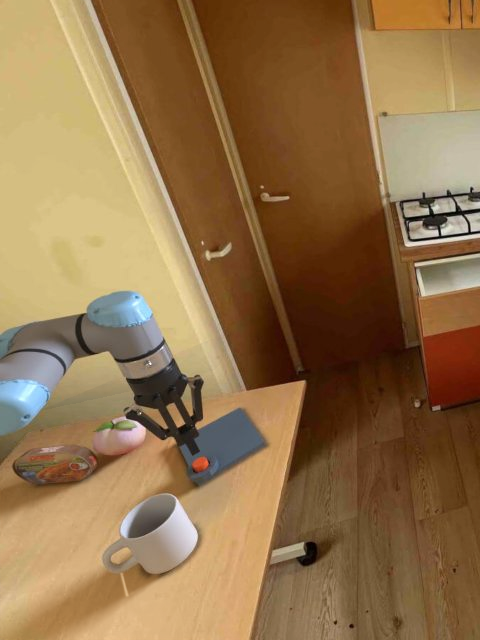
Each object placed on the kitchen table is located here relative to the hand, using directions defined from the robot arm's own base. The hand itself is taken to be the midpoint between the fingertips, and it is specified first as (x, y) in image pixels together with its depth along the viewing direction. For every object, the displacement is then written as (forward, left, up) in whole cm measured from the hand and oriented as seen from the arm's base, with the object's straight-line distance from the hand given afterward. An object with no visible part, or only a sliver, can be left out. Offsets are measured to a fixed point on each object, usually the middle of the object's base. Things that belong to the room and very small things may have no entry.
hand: (194, 450), depth 91 cm
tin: (-21, +23, -8) cm, 32 cm away
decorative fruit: (-10, +21, -8) cm, 25 cm away
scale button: (0, 0, -6) cm, 6 cm away
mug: (-11, -13, -8) cm, 19 cm away
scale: (+5, +6, -8) cm, 11 cm away
